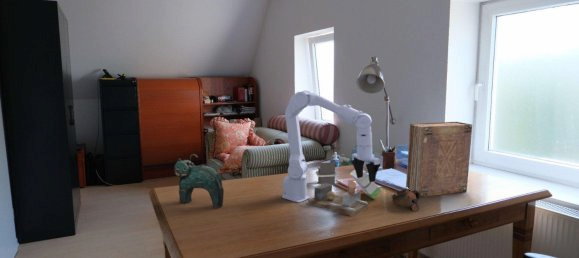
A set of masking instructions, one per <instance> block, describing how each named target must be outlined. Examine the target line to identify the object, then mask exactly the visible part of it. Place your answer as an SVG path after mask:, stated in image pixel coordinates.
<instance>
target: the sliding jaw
mask: <svg viewBox="0 0 579 258" xmlns="http://www.w3.org/2000/svg"><path fill="white" fill-rule="evenodd" d="M342 196H343V199H342V206H345V207H349V208H352V207H354V206H356V205H358V204H360V200H361V190H357V182H356V181H355V180H354V179H349V180H347V192H345V193H343V194H342Z"/></svg>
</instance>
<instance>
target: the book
mask: <svg viewBox="0 0 579 258" xmlns="http://www.w3.org/2000/svg"><path fill="white" fill-rule="evenodd" d="M472 132H473V124H470V123H465V122H459V121H446V122H445V121H443V122H420V123H418V122H417V123H410V124H409V136H408V137H409V138H408V150H407V151H408V153H407V154H408V155H407V164H406V165H407V166H406V183H405V188H406V187H408V188H409V189H410V192H412V191H414V190H417V191H419V193H420V198H426V197H433V196H440V195H449V194H450V195H451V194H459V193H465V192H467V191H468V182H469V180H468V179H469V168H470V158H471V157H470V156H471V145H472Z"/></svg>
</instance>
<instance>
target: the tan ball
mask: <svg viewBox="0 0 579 258" xmlns="http://www.w3.org/2000/svg"><path fill="white" fill-rule="evenodd" d="M336 196H337V195H336V193H335V192H334V191H333V190H332V191H330V192H328V193H327V198H328V199H329V200H334V199H335V197H336Z"/></svg>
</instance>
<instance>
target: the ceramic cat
mask: <svg viewBox="0 0 579 258" xmlns="http://www.w3.org/2000/svg"><path fill="white" fill-rule="evenodd" d="M192 156H195V157H196V158H197V159H199V157H198V155H197V154H195V153H193V154H190V157H189V159H183V160H182V159H181V158H177V161H176V163H175V164H174V167H173V169H174V175H176V177H178V178H180V179H179V181H178V184H179V185H178V186H179V187H178V188H179V189H178V196H179V204H183V203H184V205H186V203H187V204H190V201H191V202H192V195H193V191H194V189H203V190H205V191H207V192H208V194H209V196H210V200H211V203H212V208H214V209H220V208H221V207H223V206H224V205H223V204H224V194H225V192H224V191H225V190H224V186H223V181H222V177H221V175H220V174H219V171H218V170H217V168H216V167H215V166H214V165H211V164H207V163H202V164H198V165H195V164H194V163H193V162H192Z"/></svg>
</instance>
